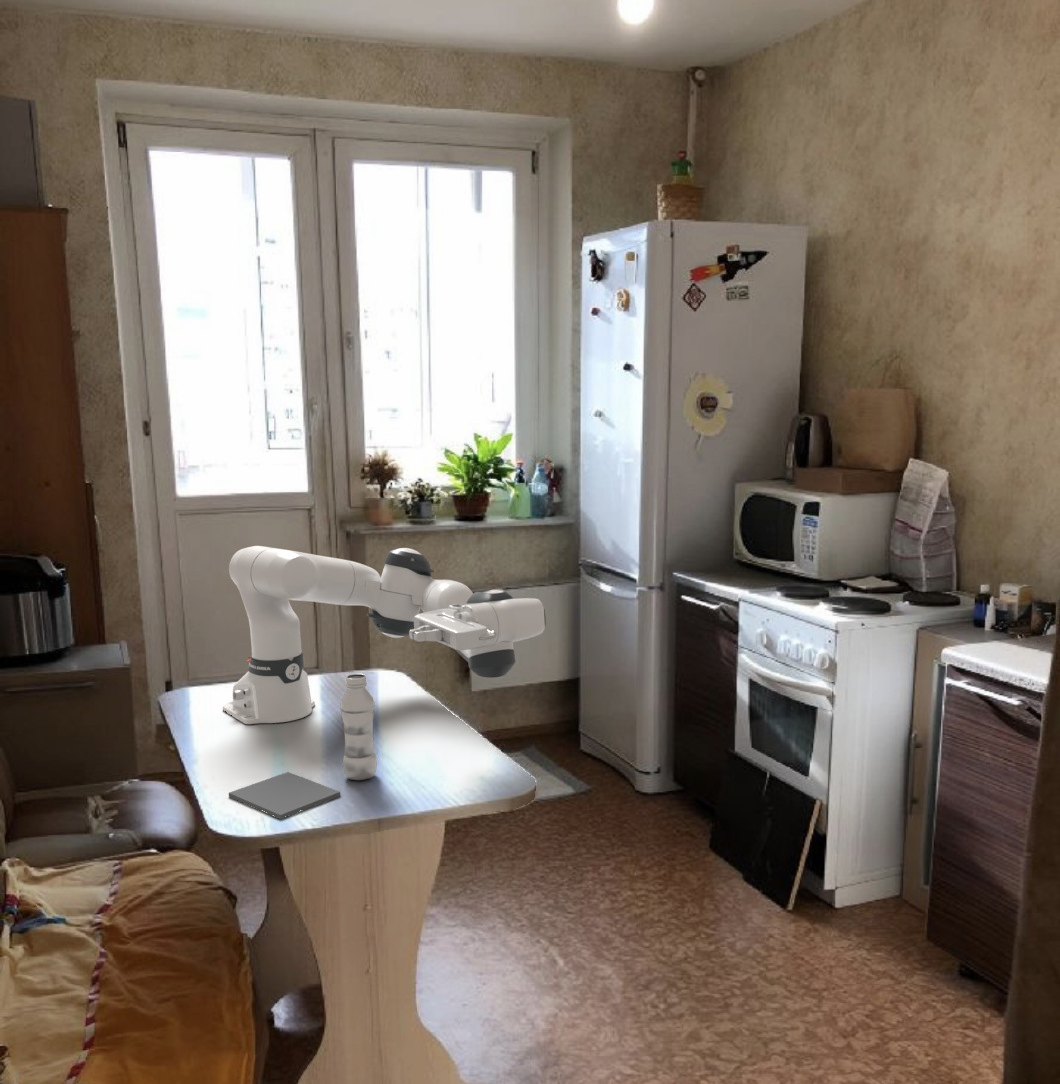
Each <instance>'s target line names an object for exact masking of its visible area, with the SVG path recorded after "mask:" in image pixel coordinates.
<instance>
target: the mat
mask: <svg viewBox="0 0 1060 1084" xmlns="http://www.w3.org/2000/svg"><path fill="white" fill-rule="evenodd" d="M341 795H342V794H341V791H339V790H336V789H334V788H332V787H329V786H326V785H323V784H321V783H318V782H315V781H313V780H310V779H308V778H305V777H303V776H300V775H298V774H295V773H291V772H289V771H287V772H284V773H281V774H278V775H276V776H273V777H270V778H266V779H264V780H261V781H258V782H255V783H252V784H249V785H246V786H244V787H241V788H238V789H236V790H233V791H229V792H228V798H230V797H231V798H230V799H233V800H235V801H237V800H239V801H240V802H239V801H238V802H239V803H242V802H243V803H242V804H244V803H245V805H246V804H247V806H249V805H250V806H249V807H251V806H252V807H251V808H253V807H255V808H257V809H256V810H258V809H259V810H258V811H260V810H263V811H265V812H267V813H268V815H269V814H270V816H271V815H274V816H275V817H274V816H273V817H274V818H276V817H278V818H279V819H278V818H277V819H278V820H283V819H285V818H286V817H285V816H288V815H291V816H293V815H296V814H298V813H300V812H299V811H300V810H303V811H306V810H308V809H311V808H313V807H316V806H318V805H322V804H323V803H326V802H329V801H331V800H334V799H337V798H339V797H340V796H341ZM255 808H254V809H255ZM305 809H306V810H305ZM265 812H264V813H265ZM297 812H298V813H297ZM267 813H266V814H267ZM295 813H296V814H295ZM292 814H293V815H292ZM284 817H285V818H284ZM288 817H289V816H288ZM282 818H283V819H282Z"/></svg>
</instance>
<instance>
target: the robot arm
mask: <svg viewBox="0 0 1060 1084" xmlns="http://www.w3.org/2000/svg"><path fill="white" fill-rule="evenodd" d="M383 563H384V567H383V570H382V573H381V576H380V573H379V572H378V570H376V569H374V568H372V567H370V566H368V565H366V564H362V563H360V562H356V561H353V560H348V559H343V558H337V557H330V556H324V555H318V554H314V553H307V552H301V551H298V550H297V551H296V550H289V549H285V548H284V549H283V548H276V547H270V546H265V545H263V546H262V545H253V546H248V547H244V548H241V549H239V550H238V551H236V552H235V553H234V554H233V555H232V557H231V559H230V562H229V563H228V574H229V577H230V579H231V580H232V582H233V583H234V584H235V586H236V588H237V589H238V591H239V594H240V596H241V599H242V603H243V605H244V609H245V612H246V615H247V619H248V623H249V632H250V643H251V645H250V646H251V656H248V657H247V656H246V659H248V660H246V663H248V668H247V672H246V673H245V674H244V675H243V676H242V677H241V678H240V679H238V681H237V682H235V684H234V685H233V687H232V701H230V702H227V703H226V704H224V705H222V711H223V710H224V712H225V711H226V712H227V713H226V712H225V713H226V714H228V715H229V716H231V715H232V716H231V717H233V718H234V719H236V720H238V721H239V722H241V723H243V724H244V725H254V724H273V723H274V724H277V723H285V722H286V723H287V722H292V721H296V720H299V719H303V718H304V717H305V718H306V717H307V716H308V715H309V716H310V714H311V713H312V712H313V707H315V705H316V704H315V700H314V699H312V697H311V690H310V684H309V677H308V672H306V671H305V670H304V668H305V657H304V652H303V651H302V639H301V622H300V619H299V616H298V615H297V613H295V611H294V610H293V608H292V605H291V604H290V601H301V602H314V603H319V604H320V603H321V604H323V603H324V604H329V605H330V604H331V605H338V606H364V607H367V608H369V609H370V610H371V612H367V613H366V616H367V617H368V618H370V620H371V622H372V623H371V624H372V625H373V626H374V627H375V629H376V630H377V631H378V632H379V633H382V634H383V635H385V636H387V637H388V638H390V637H391V638H394V639H398V638H404V637H409V639H411V640H414V641H415V642H419V643H420V642H437V643H439V644H442V645H445V646H447V647H449V648H451V649H454V651H455V652H456V653H458V655H459V656H460V657H462V658H463V659H464V661H466V662H467V663H468V668H469V669H470V670H471V671H472V672H473V673H474V674H475V675H477V676H479V677H481V678H492V679H493V678H500V677H503V676H506V675H507V674H508V673H509V671H511V670H512V668H513V667H514V665H515V664H516V655H515V649H514V643H515V642H520V641H524V640H527V639H531V638H534V637H537V636H540V635H542V634H543V633H544V631H545V628H546V625H547V623H546V621H547V619H546V617H547V616H546V610H545V607H544V604H543V602H542V601H541V600H540V599H539V598H534V597H532V598H531V597H526V598H525V597H524V598H522V597H521V598H520V597H519V598H514V597H513V596H512V595H511V594H510V593H508V592H507V591H506V590H504V589H501V588H497V589H496V588H495V589H491V590H485V591H474V593H473V591H472V590H471V588H469V586H467V585H466V584H465V583H462V582H459V581H455V580H453V579H435V578H433V577H432V573H435V570H434V569H432V568H431V564H430V563H429V560H428V559H427V557H426V556H425V555H424V554H421V552H419V551H417V550H415V549H413V548H408V547H399V548H396V549H392V550H390V551H388V553H387V555H386V557H385V560H384V562H383ZM421 610H422V613H420V612H421Z"/></svg>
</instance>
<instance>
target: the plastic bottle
mask: <svg viewBox="0 0 1060 1084" xmlns="http://www.w3.org/2000/svg"><path fill="white" fill-rule="evenodd" d="M345 678H346V683H345V687H346V688H347V689H346V691H345V693H344V694H343V696H342V698H341V699H340V705H339V706H340V712H341V717H342V718H341V719H342V723H343V731H344V751H343V753H344V755H343V759H342V769H343V774H344V775H345V776H346V778H348V779H349V780H353V781H364V780H368V779H371V778H372V777H374V776H375V775H376V773H377V769H378V768H377V767H378V760H377V755H376V752H375V742H374V738H373V737H374V733H373V729H374V716H375V715H374V714H375V712H374V711H375V700H374V697H373V696H372V694H371V693H370V691H369V690H368V689H367V688H366V687H367V686H368V685H367V684H368V683H367V677H366V675H365V674H363V673H351V674H348V675H347V676H346V677H345Z"/></svg>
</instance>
